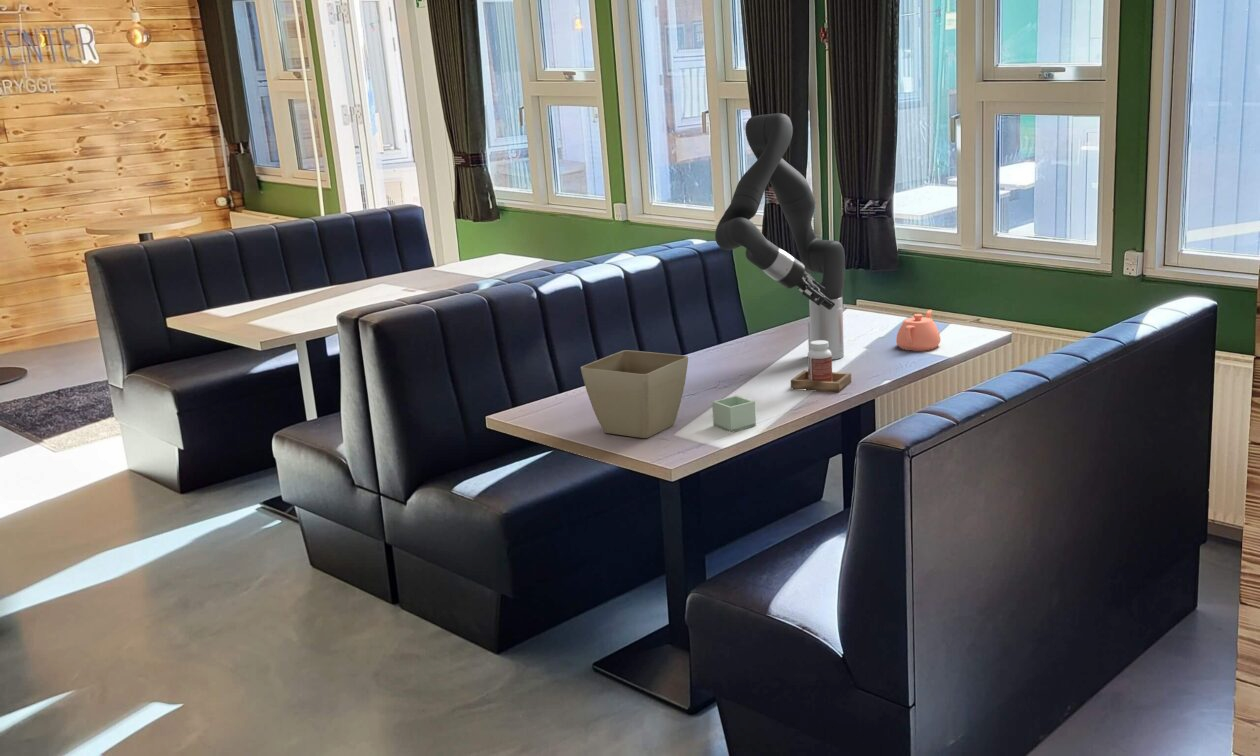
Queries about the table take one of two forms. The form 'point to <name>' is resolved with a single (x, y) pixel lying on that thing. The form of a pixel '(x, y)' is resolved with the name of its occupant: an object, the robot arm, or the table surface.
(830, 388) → the tray
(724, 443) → the table surface
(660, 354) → the flower pot
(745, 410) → the pale green bin
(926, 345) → the teapot
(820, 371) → the pill bottle
